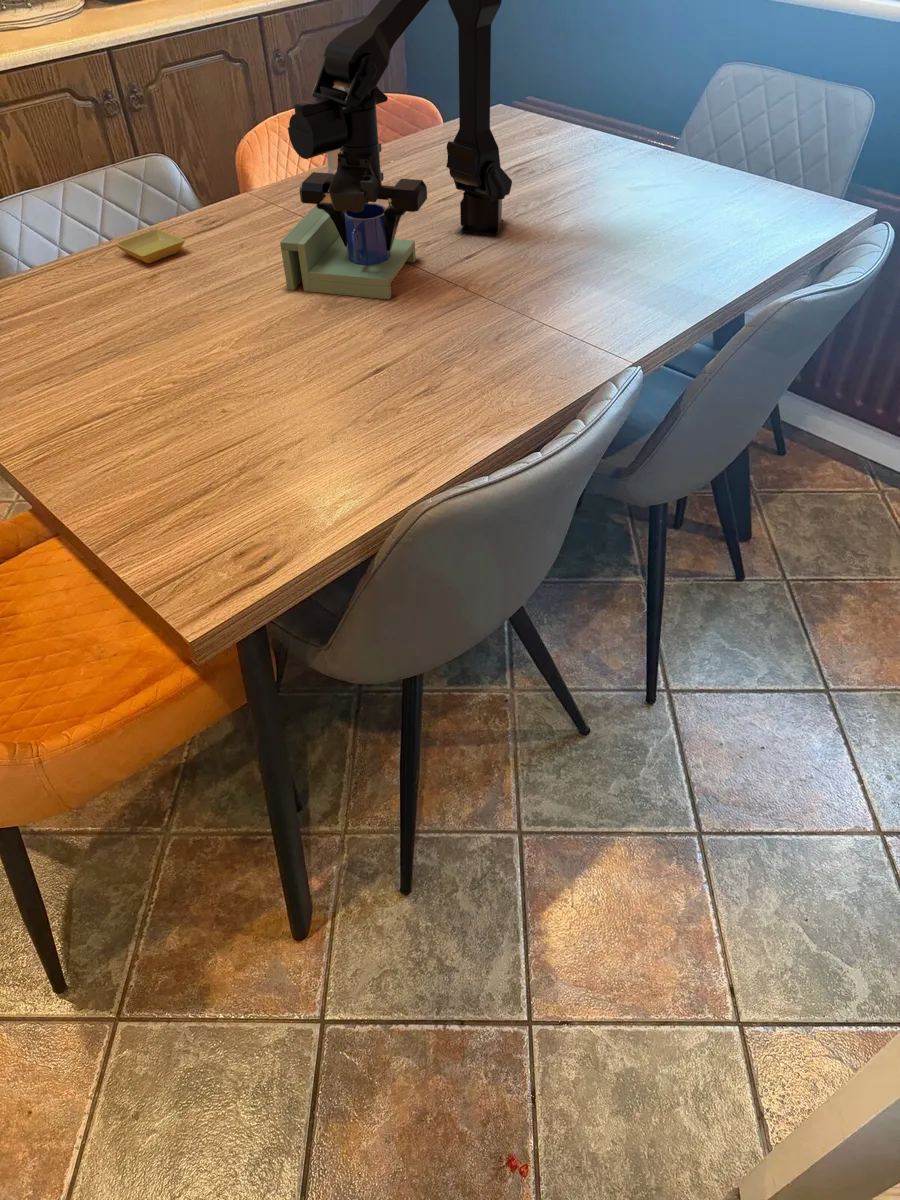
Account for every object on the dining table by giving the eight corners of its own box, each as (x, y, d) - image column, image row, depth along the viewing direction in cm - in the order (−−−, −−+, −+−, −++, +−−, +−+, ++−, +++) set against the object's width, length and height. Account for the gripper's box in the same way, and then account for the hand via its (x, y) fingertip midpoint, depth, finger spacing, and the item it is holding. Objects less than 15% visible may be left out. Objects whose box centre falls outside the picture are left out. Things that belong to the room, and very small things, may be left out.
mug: (395, 249, 139) (392, 204, 134) (377, 273, 133) (374, 227, 128) (355, 246, 140) (351, 201, 135) (336, 269, 134) (331, 224, 129)
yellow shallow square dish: (117, 254, 147) (113, 242, 146) (160, 239, 152) (157, 227, 150) (145, 268, 143) (142, 256, 142) (188, 252, 147) (185, 240, 146)
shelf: (415, 259, 144) (413, 213, 138) (389, 299, 133) (385, 251, 128) (320, 250, 147) (314, 205, 141) (287, 289, 137) (279, 242, 131)
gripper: (278, 155, 122) (294, 263, 133) (404, 164, 118) (410, 275, 129) (306, 130, 129) (319, 235, 140) (426, 138, 126) (429, 245, 137)
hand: (368, 247), depth 136 cm, fingers closed on mug, 7 cm apart
